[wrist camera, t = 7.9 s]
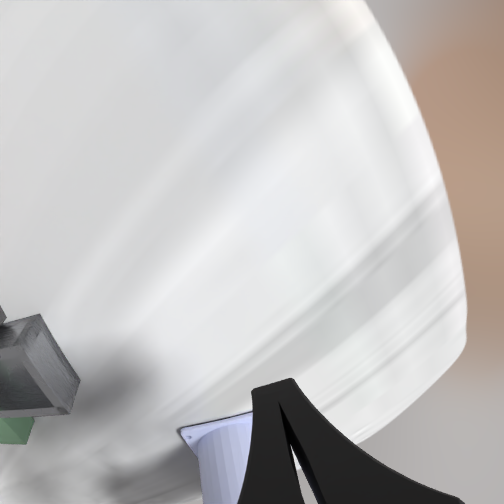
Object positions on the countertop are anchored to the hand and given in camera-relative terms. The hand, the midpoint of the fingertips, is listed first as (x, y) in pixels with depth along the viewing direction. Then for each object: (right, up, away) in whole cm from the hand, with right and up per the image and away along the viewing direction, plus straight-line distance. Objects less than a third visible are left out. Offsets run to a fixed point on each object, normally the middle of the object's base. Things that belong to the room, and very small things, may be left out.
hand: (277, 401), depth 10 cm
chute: (-18, -3, +8) cm, 20 cm away
